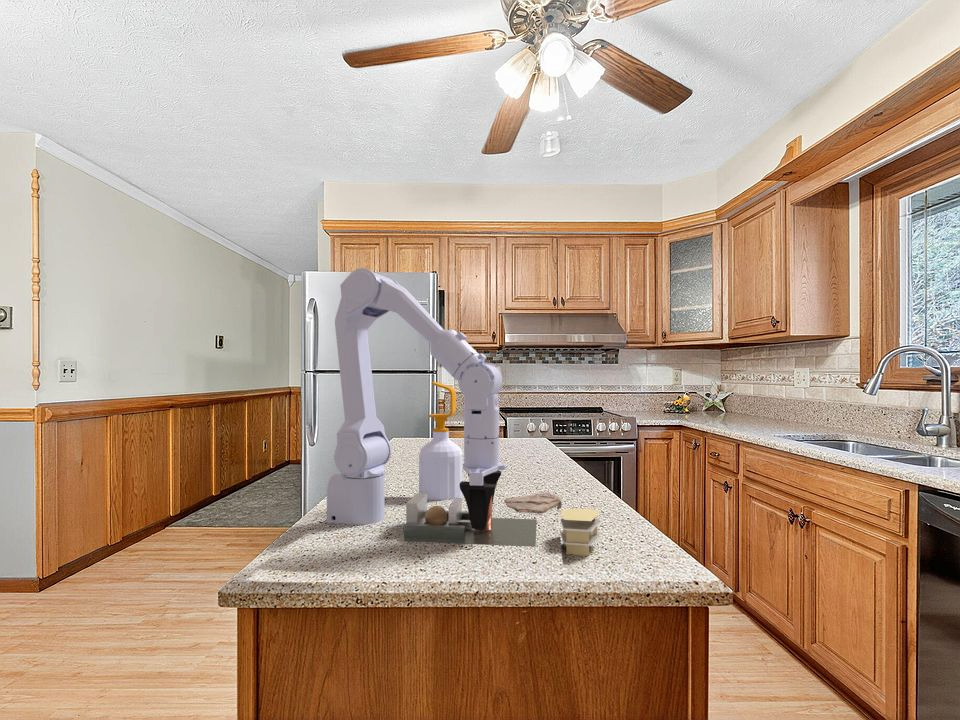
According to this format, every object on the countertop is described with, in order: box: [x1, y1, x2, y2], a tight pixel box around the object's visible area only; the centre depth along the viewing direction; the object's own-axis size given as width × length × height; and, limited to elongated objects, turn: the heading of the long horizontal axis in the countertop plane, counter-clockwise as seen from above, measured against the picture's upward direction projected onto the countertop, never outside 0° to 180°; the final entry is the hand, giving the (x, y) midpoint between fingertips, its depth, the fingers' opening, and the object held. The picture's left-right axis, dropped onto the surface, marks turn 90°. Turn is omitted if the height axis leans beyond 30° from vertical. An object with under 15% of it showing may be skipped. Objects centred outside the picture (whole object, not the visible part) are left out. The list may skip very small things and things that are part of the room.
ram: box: [448, 497, 493, 531], centre depth 86 cm, size 7×6×6 cm
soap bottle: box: [418, 381, 463, 501], centre depth 110 cm, size 9×9×25 cm
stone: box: [504, 492, 563, 514], centre depth 101 cm, size 11×12×3 cm
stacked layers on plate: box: [560, 508, 601, 557], centre depth 80 cm, size 10×9×6 cm
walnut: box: [425, 505, 447, 525], centre depth 86 cm, size 4×4×4 cm
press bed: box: [396, 492, 538, 548], centre depth 86 cm, size 21×14×6 cm, turn 83°
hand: (481, 521), depth 85 cm, fingers open, 7 cm apart
